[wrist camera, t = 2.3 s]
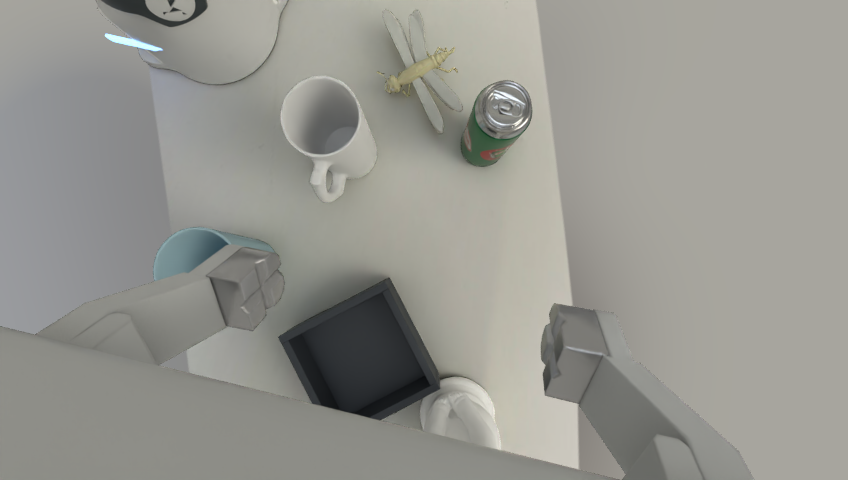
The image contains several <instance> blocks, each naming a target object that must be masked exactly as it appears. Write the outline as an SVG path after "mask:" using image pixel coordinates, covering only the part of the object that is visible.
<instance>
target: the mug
mask: <svg viewBox="0 0 848 480" xmlns="http://www.w3.org/2000/svg"><path fill="white" fill-rule="evenodd" d="M280 121H281V127H282V130H283V133H284V135H285V137H286V139H287V140H288V141H289V143H290V144H291V145H292V146H293V147H294V148H295V149H297V150H298V151H299V152H301V153H303V154H304V155H306V156H307V157H309V158H310V159H312V161H313V163H314V169H313V171H312V173H311V177H310V184H311V185H312V186H313V188H314V191H315V193H316V195H317V197H318V198H319V199H320V200H321V201H322V202H325V203H330V202H333V201H334V200H336V199H337V198H338V197H340V196H341V195H342V194H343V192H344V185H345V181H346V179H358V178H361V177H363V176H365V175H366V174H368V173H369V172H370V171H371V170H372V168H373V167H374V165H375V163H376V159H377V146H376V143H375V141H374V138H373V136H372V133H371V131H370V128H369V126H368V124H367V121H366V119H365V116H364V114H363V111H362V109H361V107H360V105H359V102H358V100H357V98H356V96H355V94H354V93H353V91H352V90H351V89H350V88H349V87H348V86H347V85H346V84H344V83H343V82H341V81H340V80H338V79H335V78H333V77H329V76H314V77H310V78H307V79H304V80H302V81H300V82H299V83H297V84H296V85H295V86H294V87H293V88H292V89H291V90H290V91H289V92H288V94H287V95H286V97H285V99H284V101H283V103H282V107H281V112H280ZM327 170H328V171H330V172H331V173H332V183H331V186H330V189H329V191H328V192H327V189H326V174H327Z"/></svg>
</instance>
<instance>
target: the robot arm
mask: <svg viewBox="0 0 848 480" xmlns="http://www.w3.org/2000/svg"><path fill="white" fill-rule="evenodd" d="M287 1H288V0H96V2H97V4H98V8H97V9H98V11H99V12H100V13H101V14H102V16H104V17H105V18H106V19H107V20H108V21H110V22H111V23H112V24H113V25H114V26H116V27H117V28H118V29H120V30H121V31H122V32H123V33H124V34H126V35H127V36H128V37H129V38H131V39H127V38H123V37H118V36H114V35H110V34H105V37H107V38H108V39H110V40H111V41H113V42H118V43H122V44H126V45H131V46H136V47H137V48H138V51H139V55H140V57H141V58H142V60H144V61H145V62H146V63H147V64H149V65H150V66H152V67H156V68H162V69H172V70H175V71H177V72H179V73H181V74H182V75H184V76H186V77H188V78H190V79H192V80H195V81H198V82H201V83H206V84H226V83H231V82H235V81H238V80H240V79H242V78H244V77H246V76H248V75H250V74H251V73H253V72H254V71H255V70H256V69H258V68H259V67H260V66H261V65H262V64H263V62H264V61H265V60H266V59H267V57H268V56H269V54H270V52H271V50H272V48H273V46H274V44H275V41H276V37H277V32H278V24H279V17H280V14H281V12H282V10H283V8H284V7H285V5H286V3H287ZM280 265H281V262H280V258H279V255H278V254H276V253H274V252H269V251H265V250H260V249H255V248H250V247H244V246H239V245H234V244H230V245H226V246H224V247H223V248H222V249H220V250H219V251H218V252H216V253H215V254H214V255H212V256H211V257H210V258H208V259H207V260H205V261H204V262H203V263H201V264H200V265H199V266H197V267H196V268H195V269H193V270H192V271H191V272H189V273H185V272H183V273H180V274H176V275H173V276H170V277H167V278H164V279H160V280H157V281H154V282H151V283H148V284H144V285H141V286H138V287H135V288H132V289H128V290H125V291H122V292H119V293H116V294H113V295H110V296H106V297H103V298H100V299H96V300H93V301H90V302H87V303H84V304H82V305H81V306H80V307H78V308H76V309H75V310H73V311H71V312H70V313H69V314H67V315H65V316H64V317H62V318H61V319H59V320H57V321H56V322H54V323H53V324H51V325H49V326H48V327H46V328H45V329H43V330H41V331H40V332H38V333H37V334H35V335H34V334H30V333H26V332H22V331H17V330H14V329H10V328H5V327H2V326H0V480H619V479H615V478H610V477H607V476H602V475H599V474H595V473H590V472H586V471H582V470H578V469H574V468H570V467H566V466H562V465H558V464H554V463H550V462H546V461H542V460H538V459H534V458H530V457H526V456H522V455H518V454H514V453H510V452H506V451H502V450H498V449H494V448H490V447H486V446H482V445H478V444H474V443H470V442H465V441H461V440H457V439H453V438H449V437H445V436H441V435H437V434H433V433H429V432H425V431H421V430H417V429H413V428H409V427H405V426H401V425H397V424H392V423H388V422H384V421H380V420H376V419H372V418H368V417H364V416H360V415H356V414H352V413H348V412H344V411H340V410H336V409H332V408H328V407H324V406H320V405H316V404H312V403H308V402H304V401H300V400H296V399H292V398H288V397H284V396H280V395H276V394H272V393H268V392H264V391H260V390H256V389H252V388H248V387H244V386H240V385H236V384H232V383H228V382H224V381H219V380H215V379H211V378H207V377H203V376H199V375H195V374H191V373H187V372H183V371H179V370H175V369H171V368H167V367H163V366H159V365H160V364H162V363H163V362H165V361H167V360H169V359H171V358H173V357H174V356H176V355H178V354H180V353H181V352H183V351H185V350H187V349H189V348H191V347H192V346H194V345H196V344H198V343H199V342H201V341H203V340H205V339H207V338H208V337H210V336H212V335H214V334H216V333H217V332H219V331H221V330H223V329H225V328H226V326H228V327H234V328H239V329H244V330H249V331H253V330H254V329H255V328H256V327H257V326H258V324H259V323H260V322H261V321H262V320H263V319H264V318H265V316H266V309H268V308H270V307H272V306H275V305H276V304H277V302H278V301H279V300H280V299H281V296H282V294H283V291H284V285H285V282H284V276H283V275H282V274H281V273H280V271H279V270H278V268H279V267H280ZM549 317H550V323H549V324H548V325H546V326H545V328H544V331H543V335H542V341H541V360H542V361H543V363H544V364H545V365H546V366H545V369H544V371H543V382H544V391H545V396H549V397H553V398H557V399H561V400H565V401H569V402H573V403H577V404H579V406H580V408H581V409H582V411H583V412H584V414H585V415H586V417H587V418H588V420H589V421H590V423H591V424H592V426H593V427H594V428H595V430H596V431H597V433H598V434H599V436H600V437H601V439H602V440H603V442H604V443H605V445H606V446H607V448H608V449H609V450H610V452H611V453H612V455H613V456H614V458H615V459H616V461H617V462H618V464H619V465H620V466H621V468H622V470H623V471H624V473H625V474H626V475H625V476H624V478H623V479H622V480H754V478H753V476H752V474H751V472H750V471H749V469H748V467H747V465H746V463H745V461H744V460H743V458H742V456H741V454H740V452H739V451H738V450H737V449H736V448H735V447H734V446H733V445H731V444H730V443H729V442H728V441H727V440H726V439H725V438H724V437H723V436H721V435H720V434H719V433H718V432H717V431H716V430H715V429H714V428H712V427H711V426H710V425H709V424H708V423H707V422H706V421H705V420H704V419H702V418H701V417H700V416H699V415H698V414H697V413H696V412H695V411H693V410H692V409H691V408H690V407H689V406H688V405H687V404H686V403H684V401H682V400H681V399H680V398H679V397H678V396H677V395H676V394H675V393H674V392H672V391H671V390H670V389H669V388H668V387H667V386H666V385H665V384H663V383H662V382H661V381H660V380H659V379H658V378H657V377H656V376H655V375H653V374H652V373H651V372H650V371H649V370H648V369H647V368H646V367H644V366H643V365H642V364H641V363H638V362H634V360H633V357H632V355H631V352H630V349H629V347H628V344H627V342H626V339H625V336H624V334H623V331H622V329H621V326H620V323H619V321H618V319H617V316H616V315H615V314H614V313H612V312H605V311H599V310H590V309H584V308H578V307H573V306H567V305H561V304H556V303H554V304H553V306H552V308H551V310H550V313H549Z"/></svg>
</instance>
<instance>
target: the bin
mask: <svg viewBox="0 0 848 480" xmlns="http://www.w3.org/2000/svg"><path fill="white" fill-rule="evenodd" d="M278 338H279V340H280V342H281V344H282V345H283V347H284V349H285V351H286V353H287V355H288V357H289V359H290V361H291V363H292V365H293V367H294V369H295V371H296V373H297V375H298V377H299V379H300V381H301V382H302V384H303V386H304V388H305V390H306V392H307V394H308V396H309V398H310V400H311V402H312V404H316V405H320V406H324V407H328V408H332V409H336V410H340V411H344V412H348V413H352V414H356V415H360V416H364V417H368V418H372V419H376V420H382V419H383V418H385V417H387V416H389V415H391V414H393V413H395V412H397V411H399V410H401V409H403V408H405V407H407V406H409V405H411V404H412V403H414V402H416V401H418V400H420V399H422V398H424V397H426V396H428V395H430V394H432V393H434V392H436V391H438V390H439V389H440V381H439V372H438V371H437V369H436V367H435V365H434V363H433V361H432V359H431V357H430V355H429V353H428V351H427V349H426V347H425V345H424V343H423V341H422V339H421V338H420V336H419V334H418V332H417V330H416V328H415V326H414V324H413V322H412V320H411V318H410V316H409V314H408V312H407V310H406V308H405V307H404V305H403V303H402V301H401V299H400V297H399V295H398V293H397V291H396V289H395V287H394V285H393V283H392V281H391V279H390V278H387V279H385V280H383V281H381V282H379V283H377V284H376V285H374V286H372V287H370V288H368V289H366V290H364V291H362V292H360V293H358V294H356V295H354V296H352V297H350V298H348V299H347V300H345V301H343V302H341V303H339V304H337V305H335V306H333V307H331V308H329V309H327V310H325V311H323V312H321V313H319V314H318V315H316V316H314V317H312V318H310V319H308V320H306V321H304V322H302V323H300V324H298V325H296V326H294V327H293V328H291V329H290V330H288V331H287V332H285V333H284V334H282V335H280V336H279V337H278Z"/></svg>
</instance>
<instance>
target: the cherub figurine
mask: <svg viewBox="0 0 848 480" xmlns="http://www.w3.org/2000/svg"><path fill="white" fill-rule="evenodd" d="M439 381H440V389H439V390H438V391H436V392H434V393H432V394H430V395H428V396H426V397H424V398H423V399H422V402H421V406H420V420H421V425H422V428H423V431H425V432H429V433H433V434H437V435H441V436H445V437H449V438H453V439H457V440H461V441H465V442H470V443H474V444H478V445H482V446H486V447H490V448H494V449H498V450H501V441H500V435H499V431H498V428H497V425H496V423H495V421H494V420H495V410H494V406H493V403H492V400H491V398H490V397H489V395H488V393H487V392H486V391H485V390H484V389H483V388H482V387H481V386H480V385H478V384H477V383H475V382H474V381H472V380H469V379H467V378H463V377H448V378H445V379H441V380H439Z"/></svg>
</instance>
